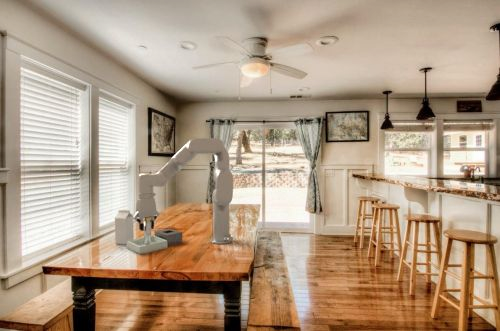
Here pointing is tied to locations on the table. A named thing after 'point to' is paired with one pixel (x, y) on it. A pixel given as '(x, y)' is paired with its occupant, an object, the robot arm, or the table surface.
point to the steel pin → (147, 230)
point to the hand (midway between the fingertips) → (146, 229)
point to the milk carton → (123, 227)
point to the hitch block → (169, 236)
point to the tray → (140, 248)
